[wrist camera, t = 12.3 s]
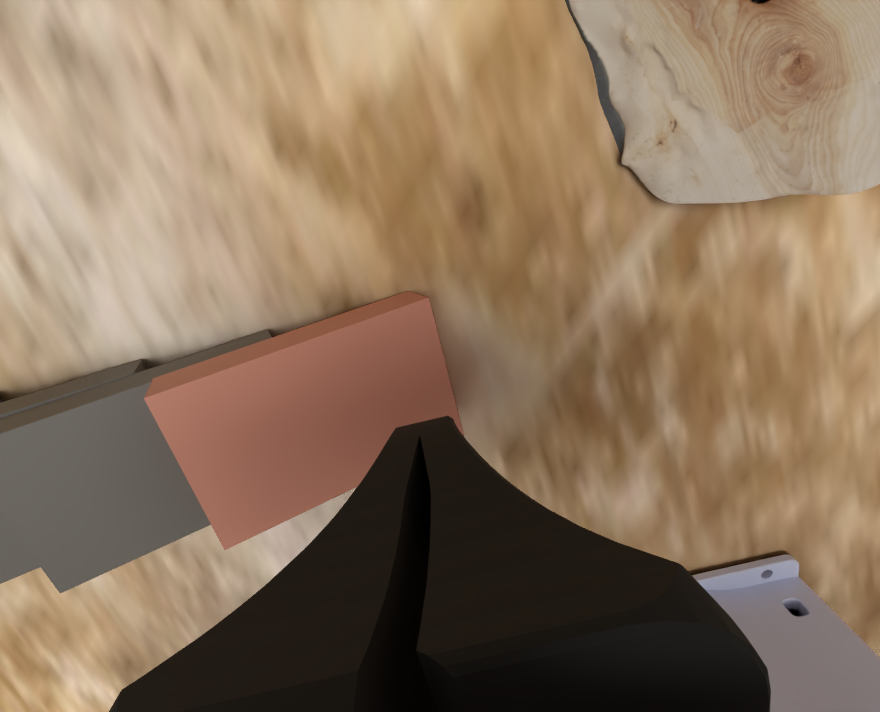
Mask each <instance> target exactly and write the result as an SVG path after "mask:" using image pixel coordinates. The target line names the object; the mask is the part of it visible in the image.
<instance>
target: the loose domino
mask: <svg viewBox="0 0 880 712" xmlns="http://www.w3.org/2000/svg"><path fill="white" fill-rule="evenodd" d="M144 400H145V402H146V403H147V405H148V407H149V409H150V411H151V413H152V415H153V417H154V418H155V420H156V422H157V424H158V426H159V428H160V430H161V432H162V433H163V435H164V437H165V439H166V441H167V443H168V445H169V447H170V448H171V450H172V452H173V454H174V456H175V458H176V460H177V462H178V463H179V465H180V467H181V469H182V471H183V473H184V475H185V476H186V478H187V480H188V482H189V484H190V486H191V488H192V490H193V491H194V493H195V495H196V497H197V499H198V501H199V503H200V505H201V506H202V508H203V510H204V512H205V514H206V516H207V518H208V520H209V521H210V523H211V525H212V527H213V529H214V531H215V533H216V535H217V536H218V538H219V540H220V542H221V544H222V546H223V548H224V549H225V550H226V549H228V548H230V547H232V546H234V545H236V544H238V543H240V542H243V541H245V540H247V539H249V538H251V537H253V536H255V535H257V534H259V533H261V532H263V531H266V530H268V529H270V528H272V527H274V526H276V525H278V524H280V523H282V522H284V521H286V520H289V519H291V518H293V517H295V516H297V515H299V514H301V513H303V512H305V511H307V510H309V509H312V508H314V507H316V506H318V505H320V504H322V503H324V502H326V501H328V500H330V499H332V498H334V497H337V496H339V495H341V494H343V493H345V492H347V491H349V490H351V489H353V488H355V487H357V486H358V485H359V484H360V483H361V481H362V480H363V478H364V477H365V475H366V474H367V472H368V471H369V469H370V468H371V466H372V465H373V463H374V462H375V460H376V458H377V457H378V455H379V454H380V452H381V450H382V449H383V447H384V445H385V444H386V442H387V440H388V439H389V437H390V436H391V434H392V433H393V431H394V430H395V428H397V427H401V426H405V425H410V424H414V423H418V422H422V421H427V420H431V419H435V418H439V417H444V416H450V417H451V418H453V419H454V422H455V424H456V426H457V428H458V429H459V431H460V432H461V434H462V435H463V436H464V434H463V430H462V426H461V422H460V418H459V414H458V410H457V406H456V402H455V398H454V395H453V391H452V387H451V383H450V379H449V375H448V371H447V367H446V363H445V359H444V355H443V352H442V348H441V344H440V340H439V336H438V332H437V328H436V324H435V320H434V316H433V312H432V309H431V305H430V301H429V298H428V297H425V296H422V295H419V294H416V293H412V292H409V291H406V292H403V293H400V294H397V295H395V296H392V297H389V298H386V299H383V300H380V301H377V302H374V303H371V304H368V305H365V306H362V307H360V308H357V309H354V310H351V311H348V312H345V313H342V314H339V315H336V316H333V317H330V318H327V319H325V320H322V321H319V322H316V323H313V324H310V325H307V326H304V327H301V328H298V329H295V330H292V331H290V332H287V333H284V334H281V335H278V336H275V337H272V338H269V339H266V340H263V341H260V342H257V343H255V344H252V345H249V346H246V347H243V348H240V349H237V350H234V351H231V352H228V353H225V354H223V355H220V356H217V357H214V358H211V359H208V360H205V361H202V362H199V363H196V364H193V365H190V366H188V367H185V368H182V369H179V370H176V371H173V372H170V373H167V374H164V375H161V376H158V377H155V378H153V380H152V382H151V384H150V386H149V388H148V391H147V393H146V395H145V397H144Z"/></svg>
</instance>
